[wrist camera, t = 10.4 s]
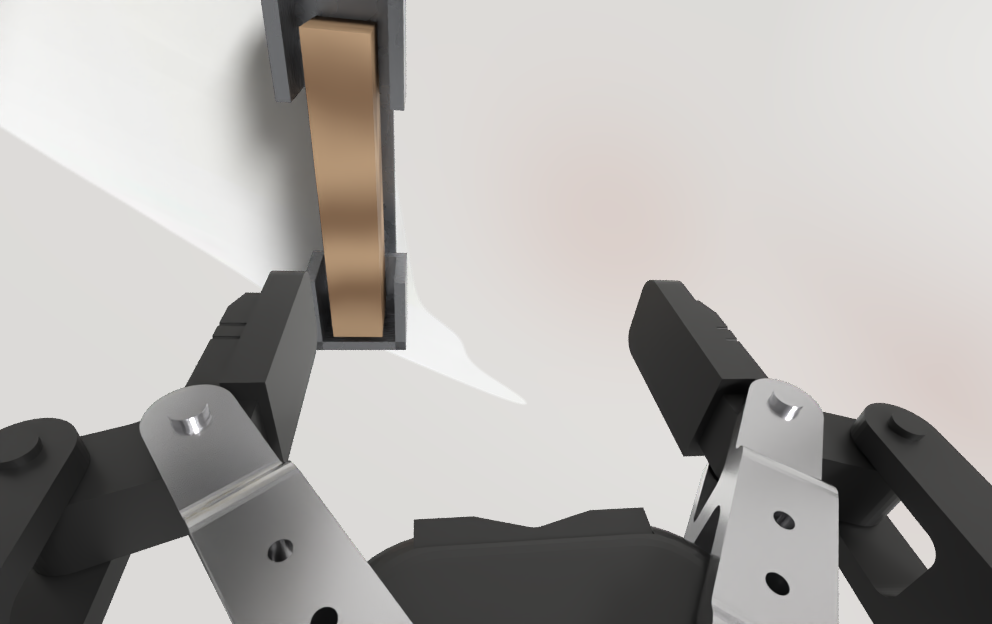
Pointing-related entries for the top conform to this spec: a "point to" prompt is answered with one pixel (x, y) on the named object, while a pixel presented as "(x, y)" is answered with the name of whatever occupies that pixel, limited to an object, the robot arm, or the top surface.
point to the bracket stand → (384, 3)
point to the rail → (348, 167)
